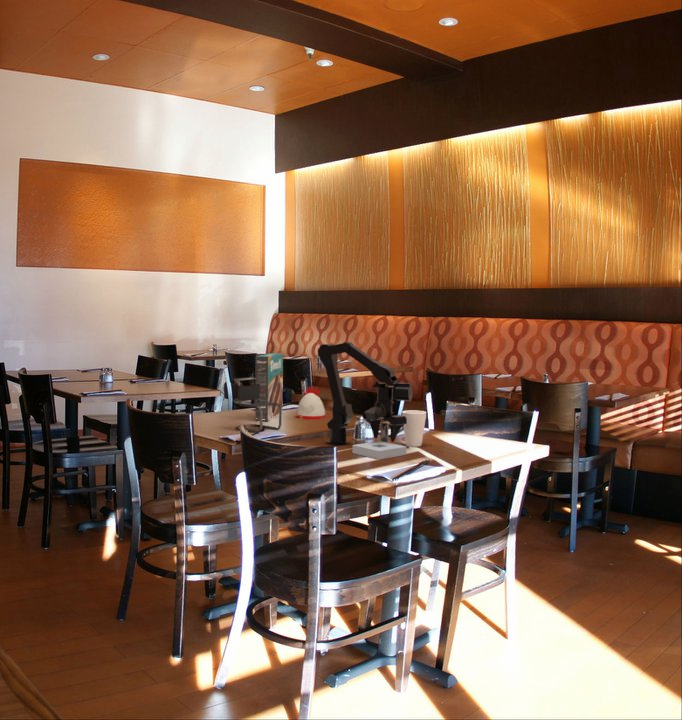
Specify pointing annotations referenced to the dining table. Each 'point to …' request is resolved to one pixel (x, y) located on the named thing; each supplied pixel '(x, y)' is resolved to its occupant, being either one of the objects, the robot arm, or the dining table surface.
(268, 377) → the cake mix box
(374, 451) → the socket block
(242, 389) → the chair
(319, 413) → the kitchen timer
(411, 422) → the foam cup
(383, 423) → the pin
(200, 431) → the dining table surface
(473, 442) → the dining table surface
